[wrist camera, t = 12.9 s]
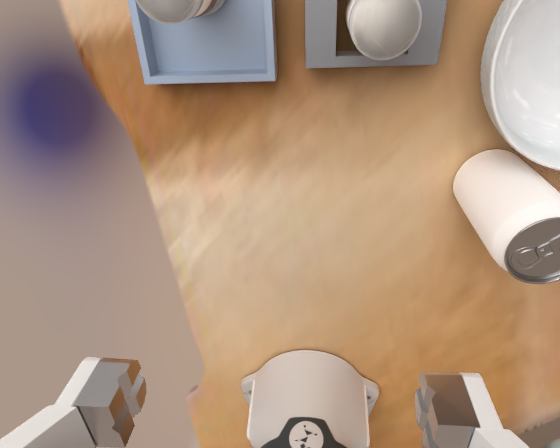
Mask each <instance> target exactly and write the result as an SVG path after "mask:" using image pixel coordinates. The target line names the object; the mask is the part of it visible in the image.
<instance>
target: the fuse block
mask: <svg viewBox="0 0 560 448" xmlns="http://www.w3.org/2000/svg"><path fill="white" fill-rule="evenodd" d="M446 5H447V0H348V1H347V3H346V6H345V11H344V18H345V23H346V26H347V28H348V30H349V32H350V35H351V38H352V41H353V43H354V44H355V46H356V48H357V49H358V50H340V51H336V23H337V0H305V46H306V68H336V67H371V66H407V65H437V64H438V58H439V51H440V45H441V38H442V31H443V25H444V18H445V11H446Z"/></svg>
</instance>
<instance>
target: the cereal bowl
mask: <svg viewBox="0 0 560 448" xmlns="http://www.w3.org/2000/svg"><path fill="white" fill-rule="evenodd" d="M480 70H481V89H482V96H483V100H484V104H485V106H486V109H487V112H488V114H489V117H490V118H491V121H492V123H493V124H494V126H495V127H496V129H497V131H498V132H499V133H500V134H501V136H502V137H503V138H504V139H505V141H506V142H507V143H508V144H509V145H510V146H511V147H512V148H513V149H515V150H516V151H517V152H519V153H520V154H521V155H523V156H524V157H526V158H527V159H529V160H531V161H533V162H535V163H537V164H539V165H542V166H545V167H548V168H551V169H555V170H560V0H504V1H503V2H502V3H501V6H500V8H499V9H498V12H497V14H496V15H495V17H494V20H493V22H492V24H491V27H490V30H489V32H488V34H487V38H486V41H485V46H484V50H483V54H482V61H481V69H480Z"/></svg>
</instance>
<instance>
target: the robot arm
mask: <svg viewBox="0 0 560 448" xmlns="http://www.w3.org/2000/svg"><path fill="white" fill-rule="evenodd" d="M140 369H141V367H140V364H139V362H138V360H126V359H113V358H95V357H87V358H86V359H84V360H83V361H82V362H81V363H80V365H79V367H78V368H77V370H76V371H75V373H74V374H73V376H72V378H71V379H70V381H69V382H68V384H67V385H66V387H65V389H64V390H63V392H62V393H61V395H60V396H59V398H58V400H57V401H56V403H55V404H54V405H49V406H47V407H46V408H45V409H43V410H41V411H40V412H39V413H37V414H36V415H34V416H33V417H32V418H30V419H29V420H27V421H26V422H25V423H23V424H22V425H20V426H19V427H17V428H16V429H14V430H13V431H12V432H10V433H9V434H7V435H6V436H4V437H3V438H2V439H0V448H96V447H119V448H125V446H126V444H127V442H128V440H129V437H130V435H131V433H132V430H133V428H134V426H135V425H134V422H133V417H134V416H135V415H136V414H138V413H139V412H140V411H141V409H142V406H143V404H144V401H145V395H146V383H145V379H144V378H143V377H142V376H141V375H140V374H138V373H139V371H140ZM419 384H420V388H419V389H418V390H416V396H415V411H416V418H417V423H418V426H419V427H420V428H421V429H422V431H423V432H424V433H423V438H422V445H423V448H530V447H528V446H527V445H526V444H525V443H524V442H523V441H522V440H521V439H520V438H518V437H517V436H516V435H515V434H514V433H513V432H512V431H511V430H507V429H504V428H503V426H502V424H501V421H500V419H499V417H498V414H497V412H496V410H495V407H494V405H493V402H492V400H491V398H490V395H489V393H488V391H487V388H486V386H485V383H484V381H483V379H482V376H481V375H480V374H479V373H461V372H459V373H458V372H440V371H421V373H420V375H419ZM241 389H242V391H243V394H244V396H245V398H246V400H247V403H248V405H249V407H250V410H249V419H248V427H247V438H248V439H249V440H250V443H251V446H252V447H253V448H369V444H370V437H369V422H368V417H369V415H370V413H371V411H372V409H373V407H374V404H375V402H376V400H377V398H378V396H379V387H378V385H377V384H376V383H374V382H372V381H370V380H368V379H366V378H364V377H362V376H361V375H360V374H359V373H358V372H357V371H356V370H355V369H354V367H353V366H351V365H350V364H349V363H348V362H346V361H345V360H343V359H341V358H339V357H337V356H334V355H332V354H329V353H325V352H320V351H313V350H299V351H291V352H287V353H283V354H280V355H278V356H276V357H274V358H272V359H271V360H269V361H268V362H267V363H265V364H264V365H263V367H262V368H261V369H260V370H259V371H257V372H256V373H253V374H251V375H248V376H246V377H244V378H243V379H242V381H241Z"/></svg>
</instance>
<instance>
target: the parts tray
mask: <svg viewBox="0 0 560 448" xmlns="http://www.w3.org/2000/svg"><path fill="white" fill-rule="evenodd" d="M127 1H128V5H129V10H130V15H131V20H132V25H133V30H134V34H135V39H136V44H137V49H138V54H139V58H140V63H141V68H142V73H143V78H144V82H145V84H178V83H217V82H257V81H275V80H276V78H277V76H278V63H277V40H276V16H275V0H226V2H225V4H224V5H223V6H222V7H221V8H220V9H219V10H218V11H216V12H215V13H212V14H209V15H204V16H199V17H196V18H191V19H189V20H187V21H185V22H182V23H178V24H172V25H169V24H162V23H159V22H157V21H155V20H153V19H152V18H150V17H149V16H148V15H146V14H145V13H144V12H143V11H142V9H141V8H140V7H139V5H138V4H137V2H136V0H127Z"/></svg>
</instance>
